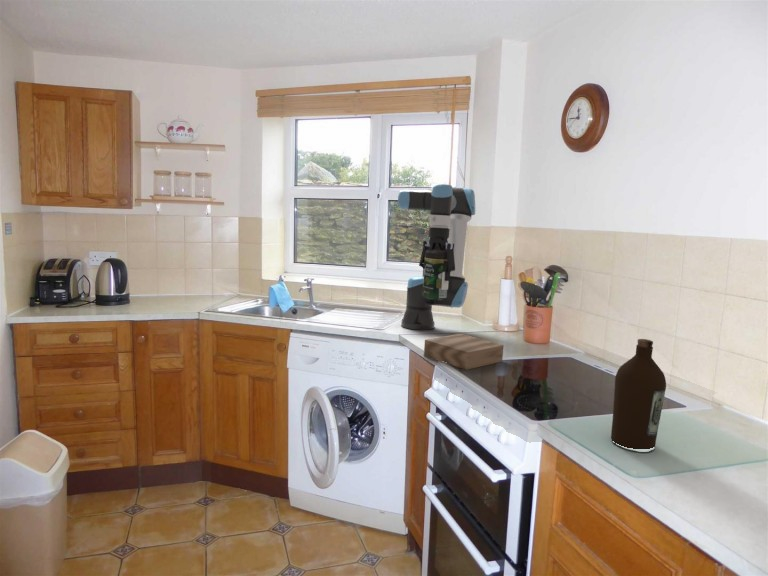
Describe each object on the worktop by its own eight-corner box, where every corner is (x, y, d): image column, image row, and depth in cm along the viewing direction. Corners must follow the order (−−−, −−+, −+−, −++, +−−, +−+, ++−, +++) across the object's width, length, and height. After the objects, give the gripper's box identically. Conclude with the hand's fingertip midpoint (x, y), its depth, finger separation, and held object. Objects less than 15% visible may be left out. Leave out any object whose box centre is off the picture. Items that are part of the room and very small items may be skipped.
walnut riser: (423, 355, 193) (424, 339, 192) (459, 348, 206) (460, 333, 205) (466, 369, 178) (467, 352, 177) (502, 361, 191) (503, 345, 190)
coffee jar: (418, 296, 201) (421, 247, 198) (436, 296, 204) (439, 248, 202) (432, 300, 192) (435, 249, 190) (450, 300, 196) (454, 250, 193)
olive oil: (601, 443, 124) (613, 339, 120) (616, 431, 132) (627, 332, 128) (650, 459, 117) (665, 348, 113) (662, 444, 125) (676, 341, 122)
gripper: (412, 225, 201) (408, 284, 204) (454, 228, 184) (449, 292, 187) (426, 226, 205) (422, 283, 208) (468, 228, 189) (463, 291, 192)
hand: (435, 287), depth 198 cm, fingers closed on coffee jar, 9 cm apart
